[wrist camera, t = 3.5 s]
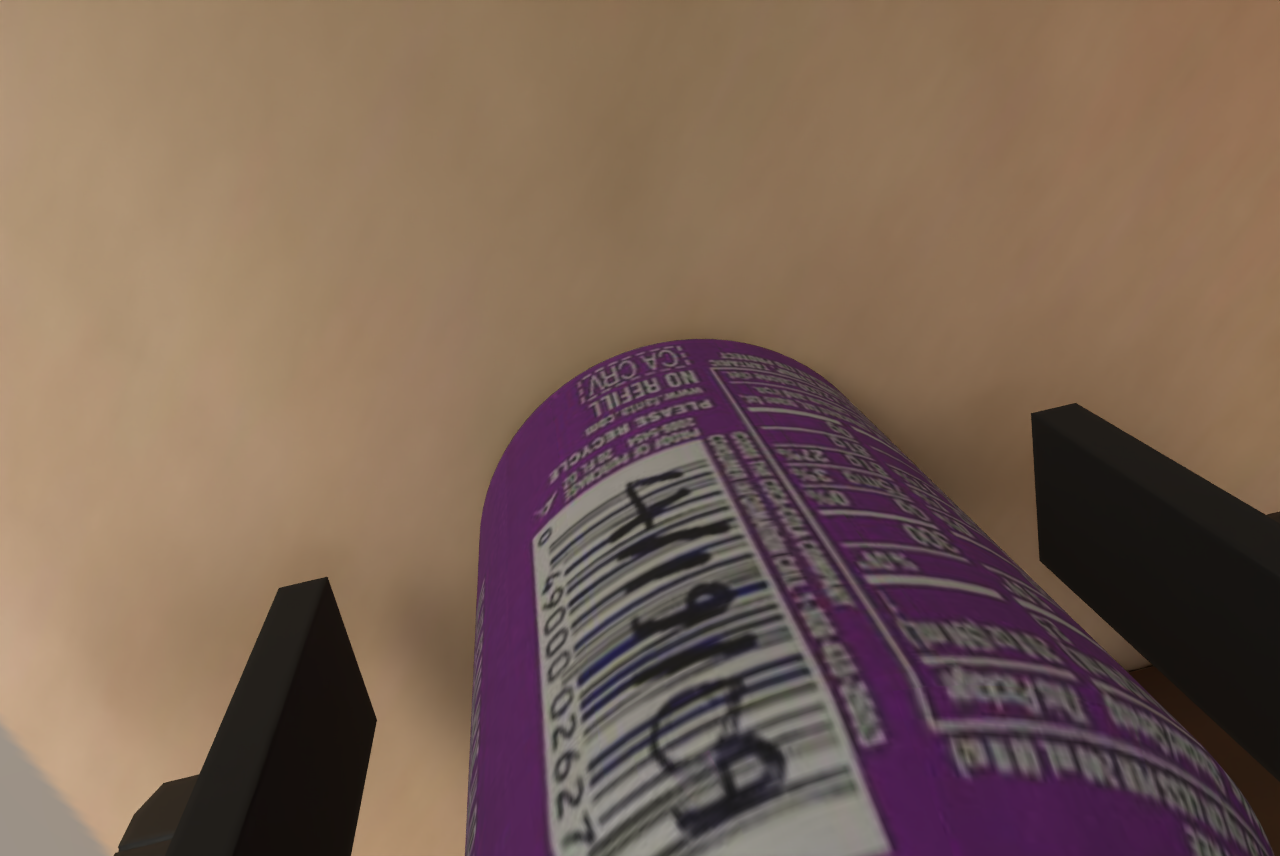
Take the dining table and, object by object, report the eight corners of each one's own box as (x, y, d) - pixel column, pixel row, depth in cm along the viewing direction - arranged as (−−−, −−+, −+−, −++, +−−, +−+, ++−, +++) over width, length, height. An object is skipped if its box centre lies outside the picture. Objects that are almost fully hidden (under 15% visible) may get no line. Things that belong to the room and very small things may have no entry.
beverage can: (448, 667, 18) (363, 1611, 7) (524, 287, 16) (573, 785, 5) (813, 714, 20) (1222, 1568, 9) (928, 370, 18) (1673, 907, 6)
